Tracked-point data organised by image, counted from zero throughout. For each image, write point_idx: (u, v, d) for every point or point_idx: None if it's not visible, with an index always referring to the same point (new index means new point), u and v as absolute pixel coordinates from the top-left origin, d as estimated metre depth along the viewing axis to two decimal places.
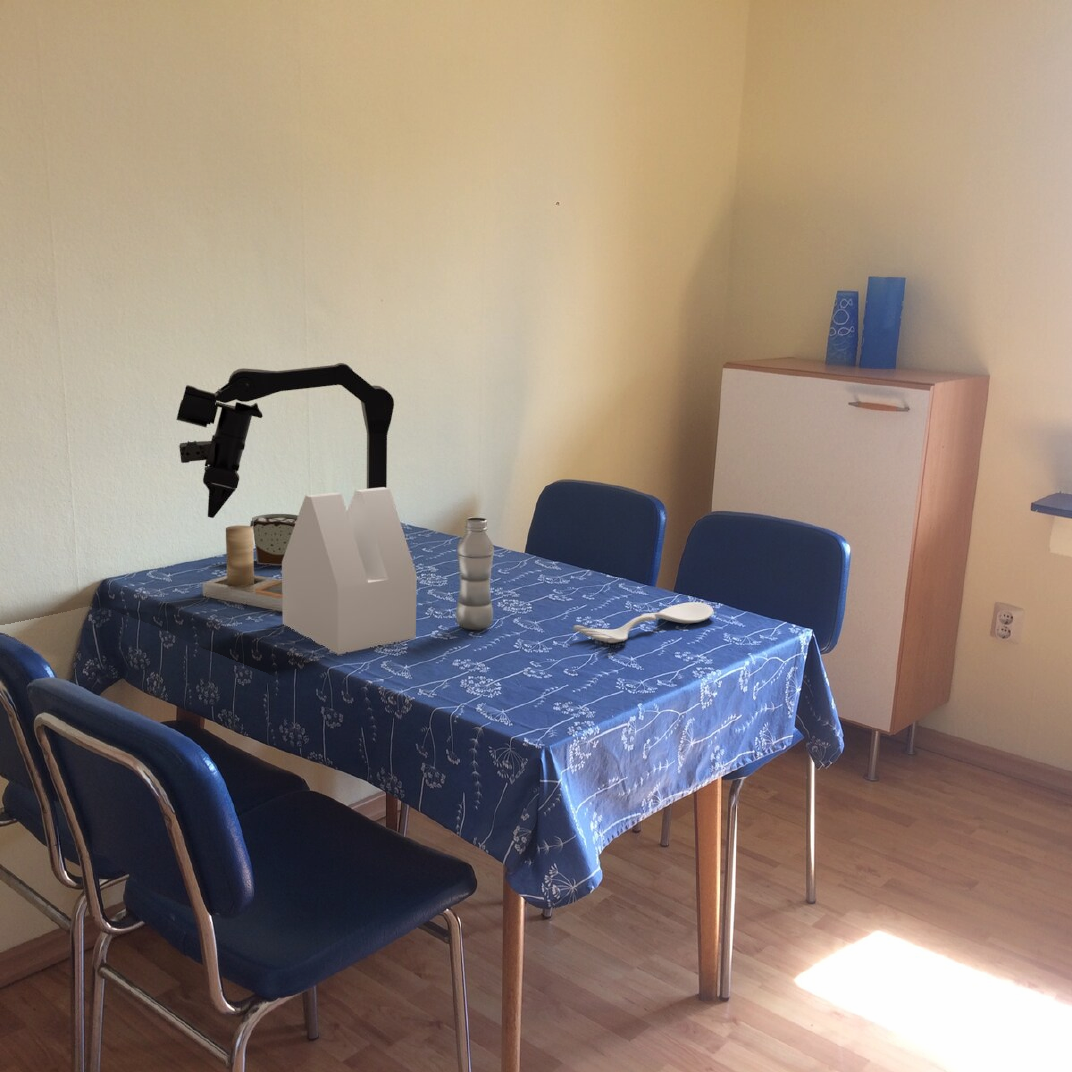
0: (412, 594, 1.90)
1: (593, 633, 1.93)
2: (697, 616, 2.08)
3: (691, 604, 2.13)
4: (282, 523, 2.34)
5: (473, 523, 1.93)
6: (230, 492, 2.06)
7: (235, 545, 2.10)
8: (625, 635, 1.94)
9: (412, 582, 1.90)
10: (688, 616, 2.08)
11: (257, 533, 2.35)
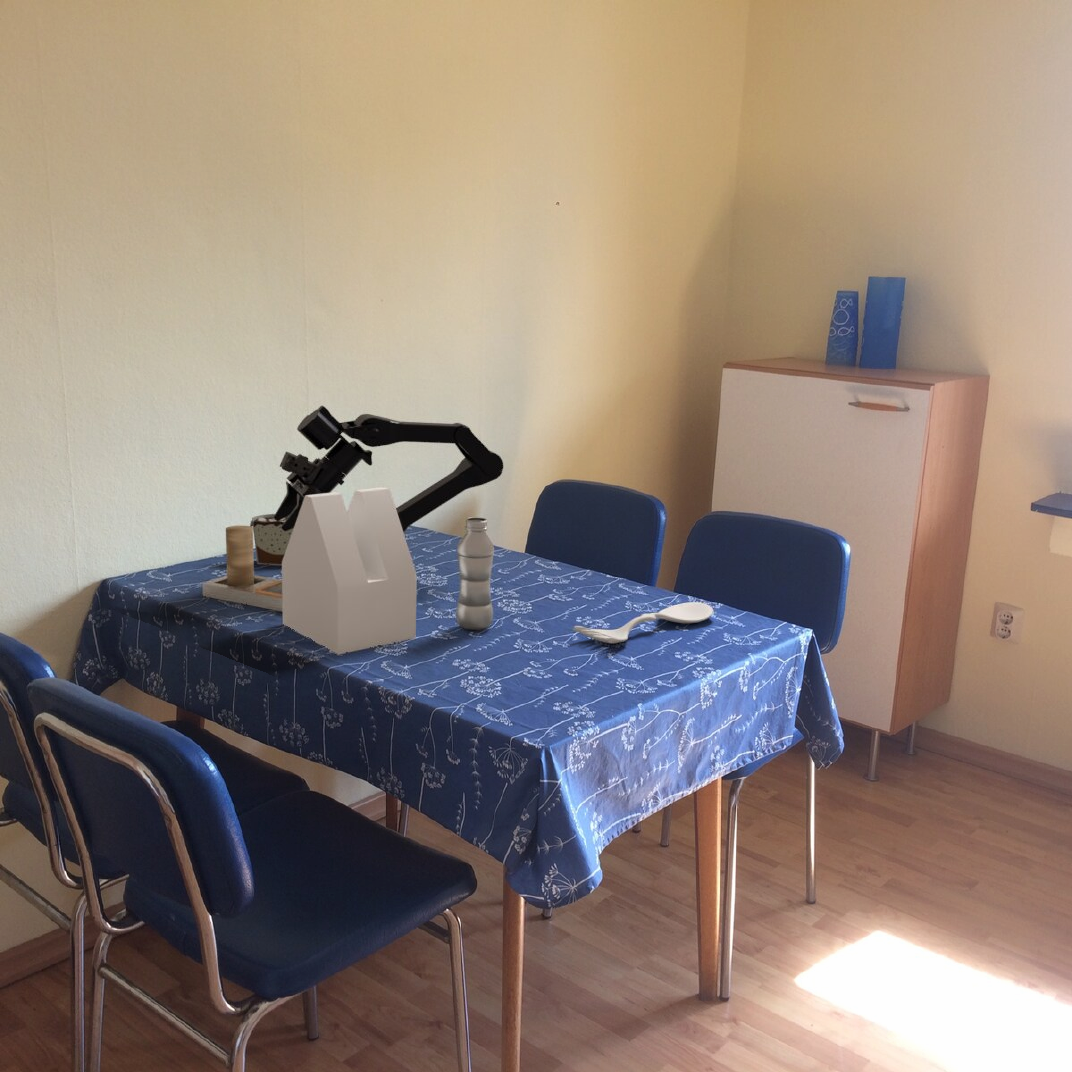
0: (412, 594, 1.90)
1: (593, 633, 1.93)
2: (697, 616, 2.08)
3: (691, 604, 2.13)
4: (282, 523, 2.34)
5: (473, 523, 1.93)
6: None
7: (235, 545, 2.10)
8: (625, 635, 1.94)
9: (412, 582, 1.90)
10: (688, 616, 2.08)
11: (257, 533, 2.35)
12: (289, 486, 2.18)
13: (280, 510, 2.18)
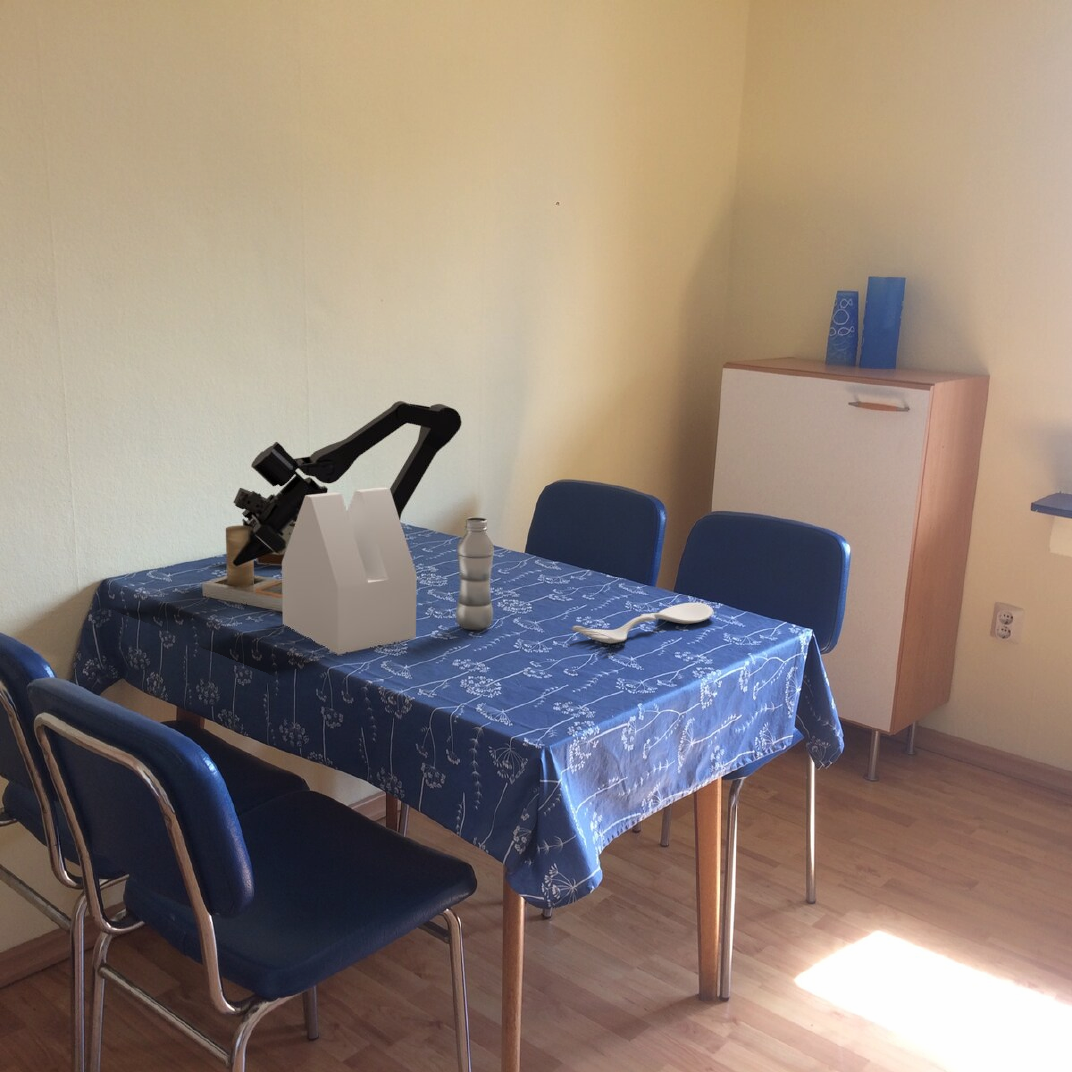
0: (412, 594, 1.90)
1: (592, 633, 1.93)
2: (697, 616, 2.07)
3: (691, 604, 2.12)
4: None
5: (473, 523, 1.93)
6: (266, 552, 2.10)
7: (235, 545, 2.10)
8: (624, 635, 1.94)
9: (412, 582, 1.90)
10: (688, 616, 2.08)
11: None
12: (245, 524, 2.15)
13: None
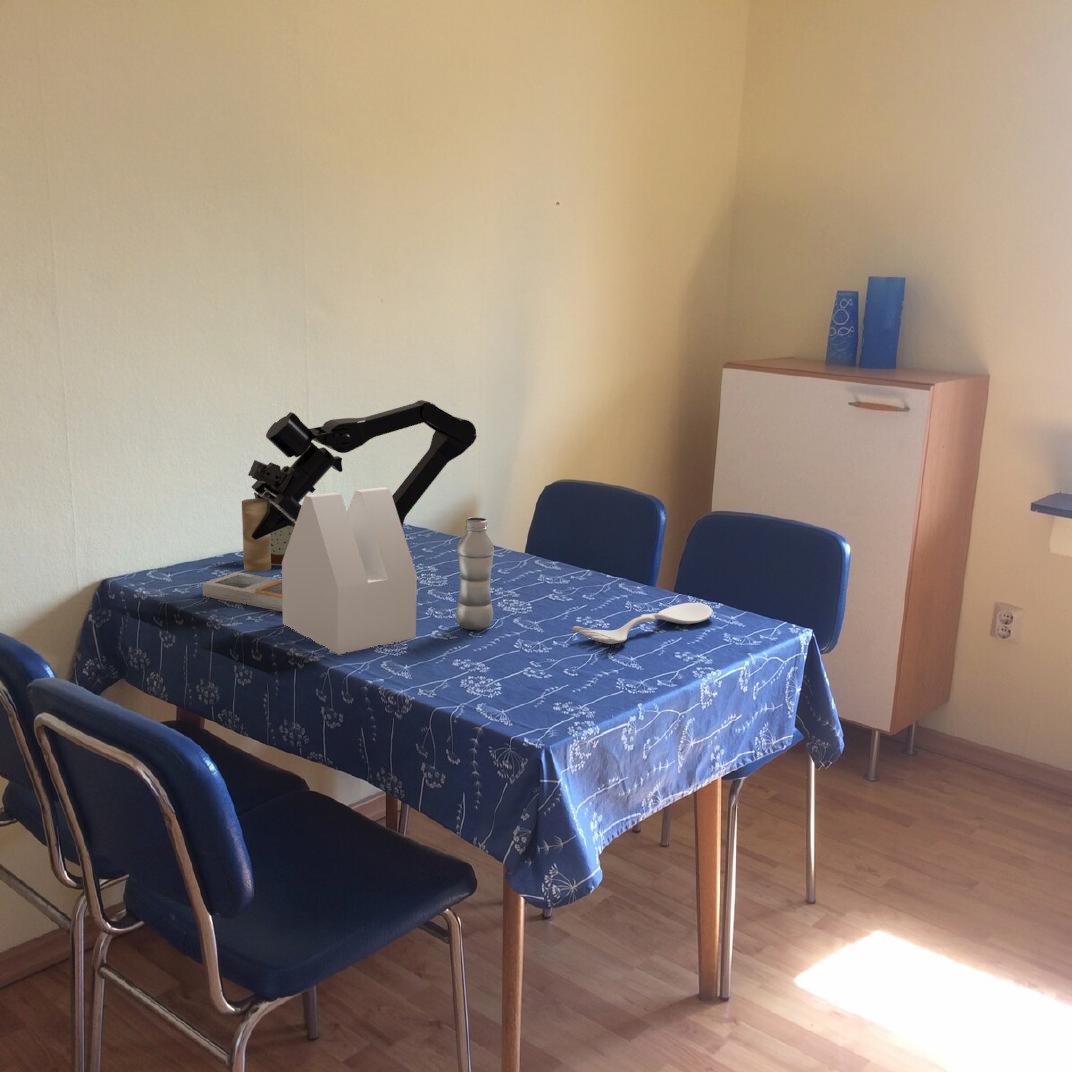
0: (412, 594, 1.90)
1: (592, 634, 1.93)
2: (696, 617, 2.07)
3: (690, 605, 2.12)
4: None
5: (473, 523, 1.93)
6: (286, 524, 2.07)
7: (253, 518, 2.06)
8: (624, 636, 1.94)
9: (412, 582, 1.90)
10: (687, 617, 2.08)
11: None
12: (259, 497, 2.11)
13: None
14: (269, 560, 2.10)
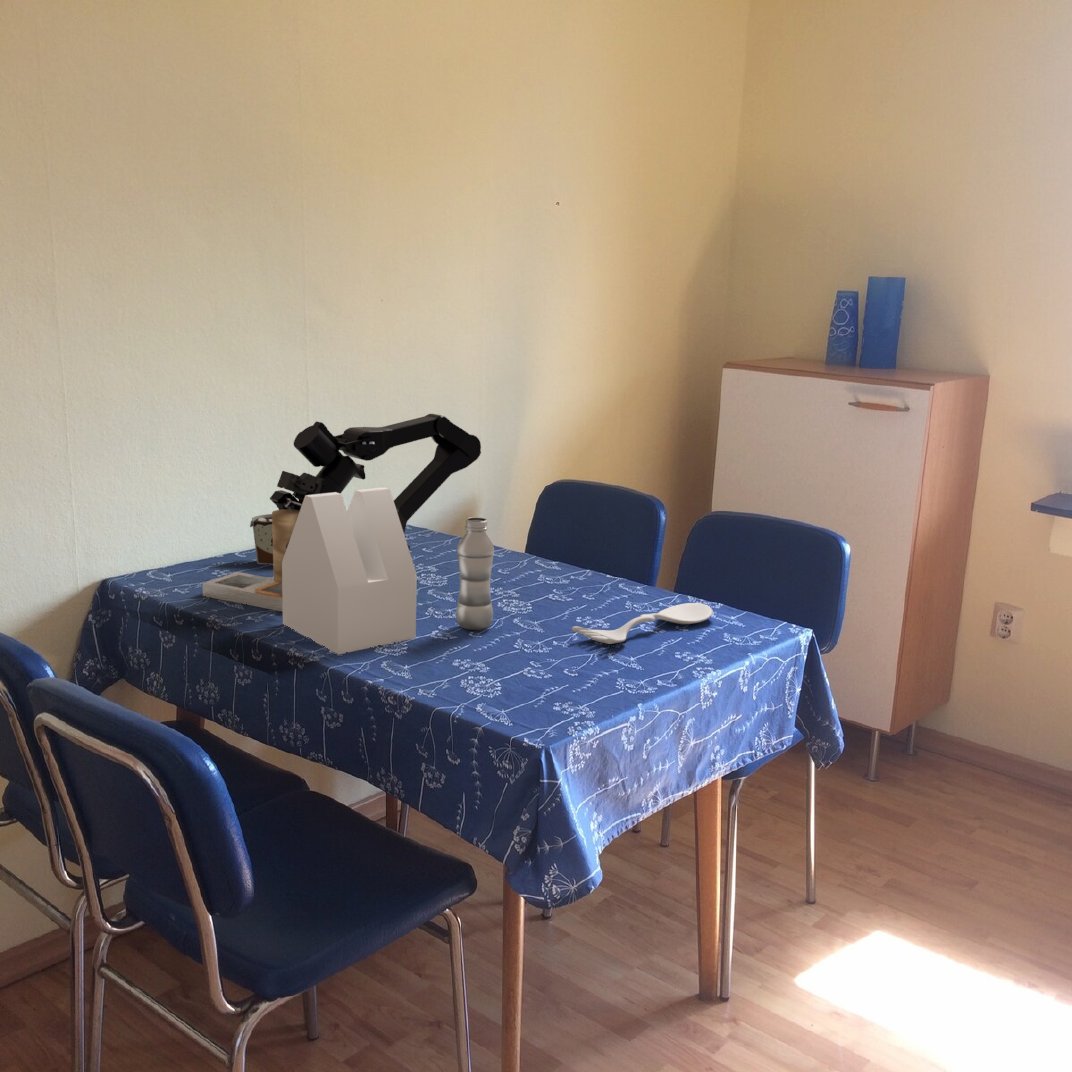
0: (412, 594, 1.90)
1: (591, 634, 1.93)
2: (696, 617, 2.07)
3: (690, 605, 2.12)
4: None
5: (473, 523, 1.93)
6: None
7: (287, 530, 2.04)
8: (624, 636, 1.94)
9: (412, 582, 1.90)
10: (687, 617, 2.08)
11: (257, 533, 2.35)
12: (284, 508, 2.09)
13: None
14: None
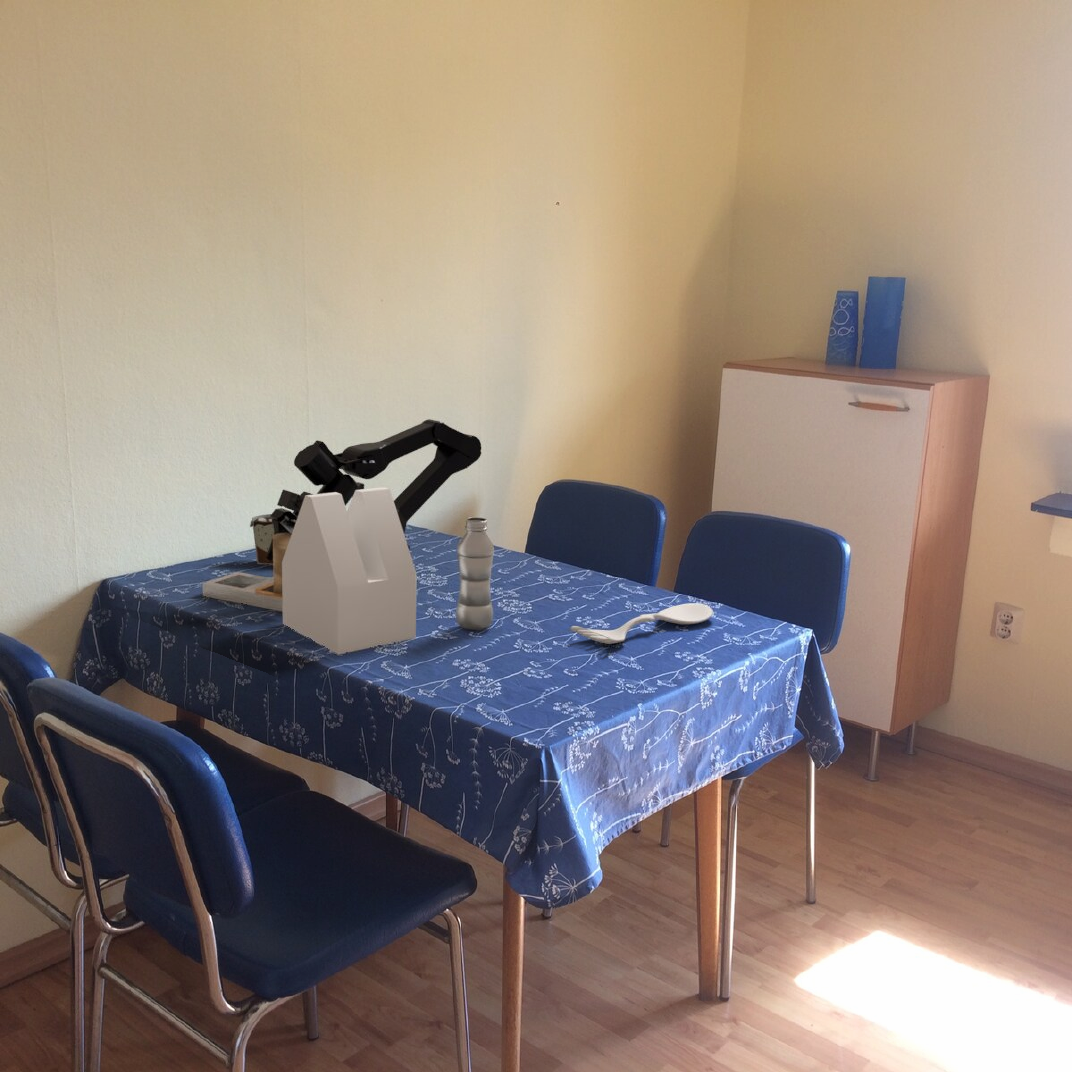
0: (412, 594, 1.90)
1: (590, 634, 1.93)
2: (696, 617, 2.07)
3: (691, 605, 2.12)
4: None
5: (473, 523, 1.93)
6: None
7: None
8: (623, 636, 1.94)
9: (412, 582, 1.90)
10: (687, 617, 2.08)
11: (257, 533, 2.35)
12: (279, 524, 2.12)
13: (272, 549, 2.11)
14: None
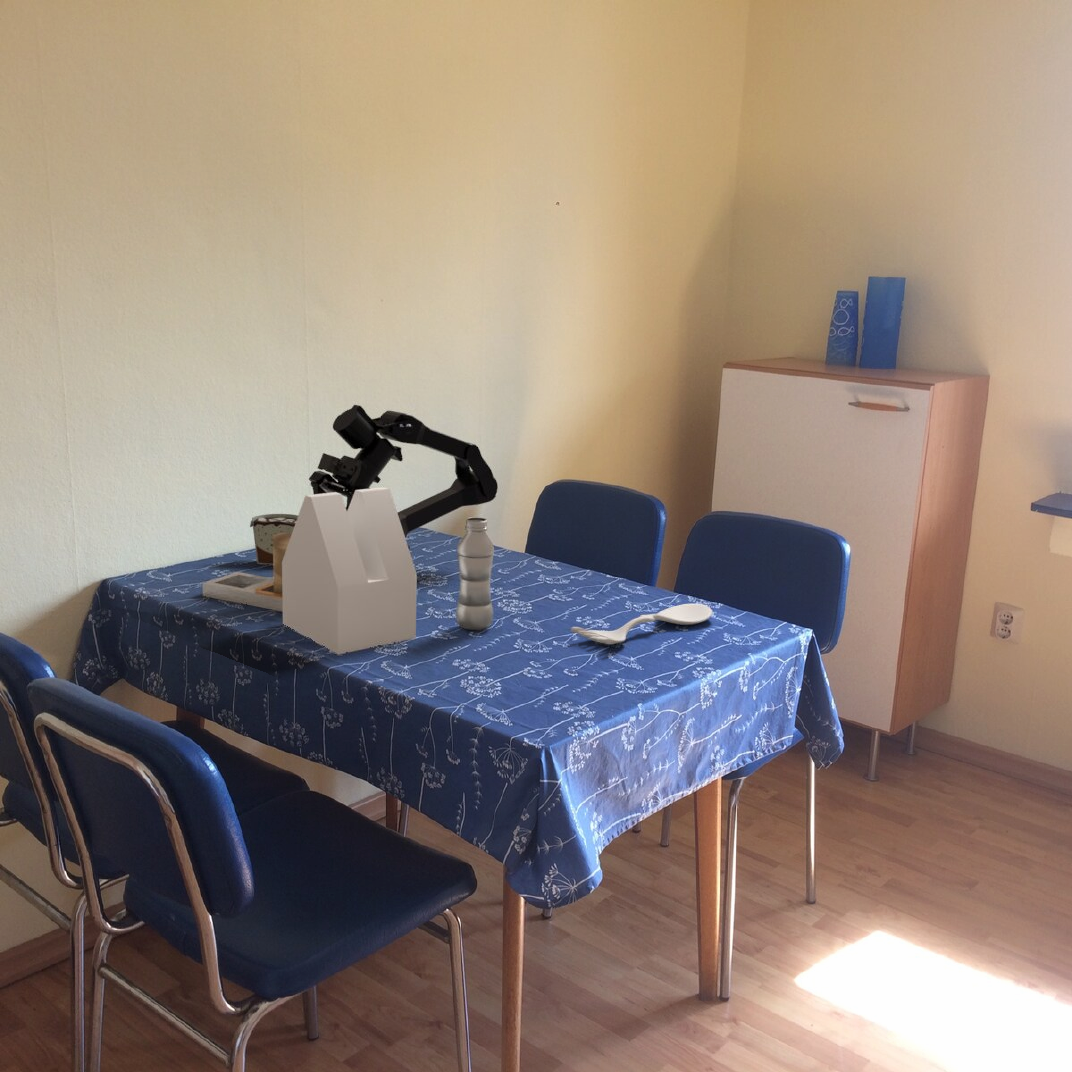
0: (412, 594, 1.90)
1: (591, 634, 1.92)
2: (696, 617, 2.07)
3: (690, 605, 2.12)
4: (282, 523, 2.34)
5: (473, 523, 1.93)
6: None
7: None
8: (623, 636, 1.93)
9: (412, 582, 1.90)
10: (687, 617, 2.08)
11: (257, 533, 2.35)
12: (318, 487, 2.16)
13: None
14: None
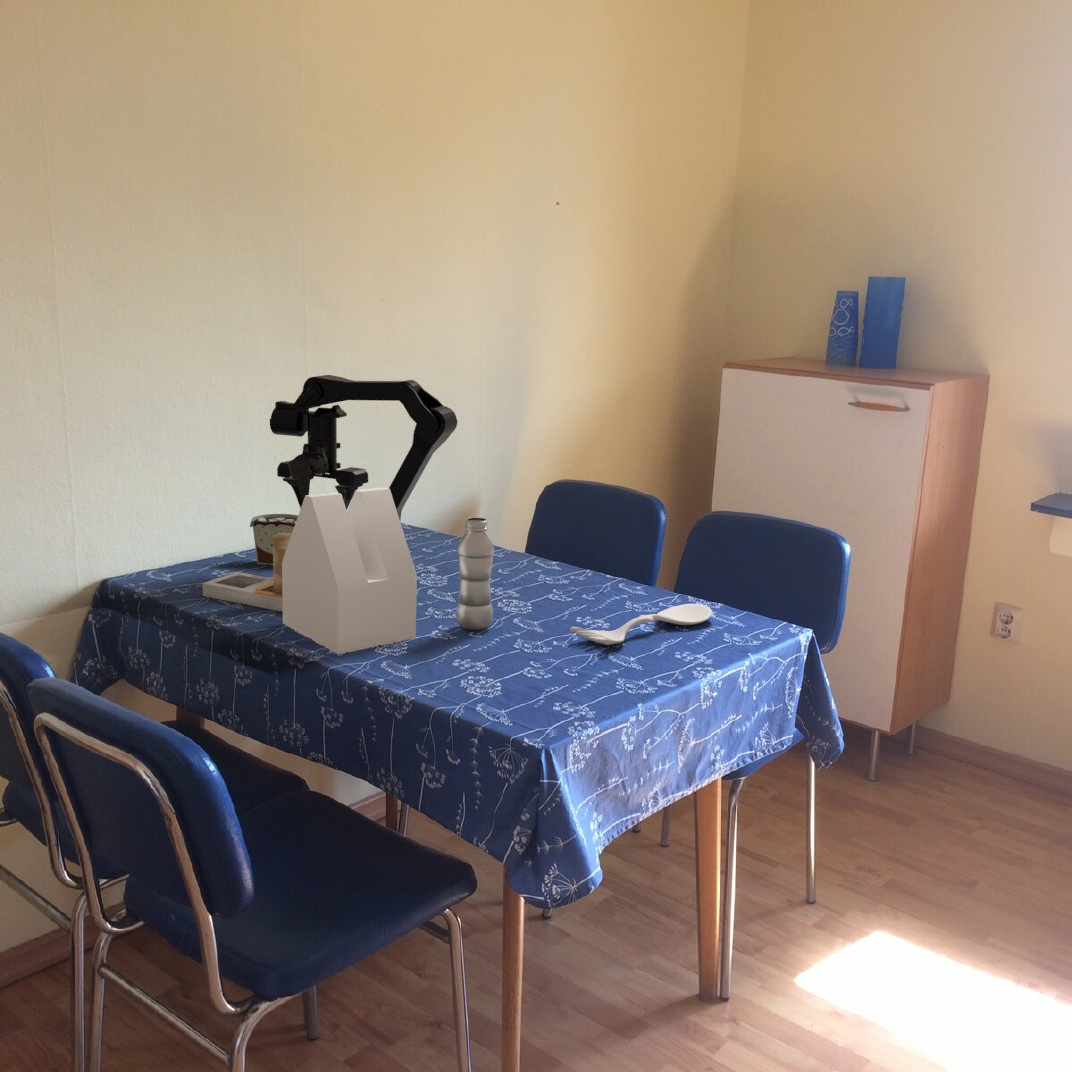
0: (412, 594, 1.90)
1: (590, 635, 1.92)
2: (696, 618, 2.07)
3: (690, 606, 2.11)
4: (282, 523, 2.34)
5: (473, 523, 1.93)
6: (356, 488, 2.24)
7: None
8: (622, 637, 1.93)
9: (412, 582, 1.90)
10: (687, 618, 2.07)
11: (257, 533, 2.35)
12: (294, 481, 2.25)
13: (302, 502, 2.27)
14: None
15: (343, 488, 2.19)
